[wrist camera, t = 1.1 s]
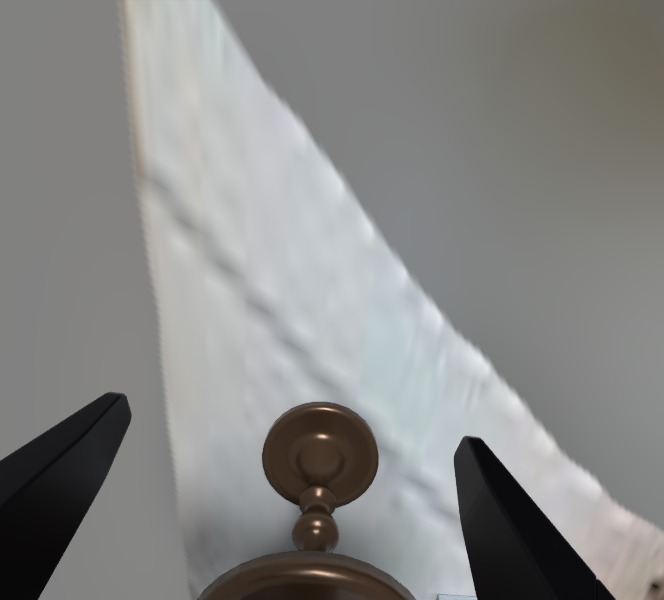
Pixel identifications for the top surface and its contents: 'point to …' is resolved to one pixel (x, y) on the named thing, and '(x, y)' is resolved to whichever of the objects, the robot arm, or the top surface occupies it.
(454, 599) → the base plate
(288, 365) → the top surface
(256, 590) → the candlestick
